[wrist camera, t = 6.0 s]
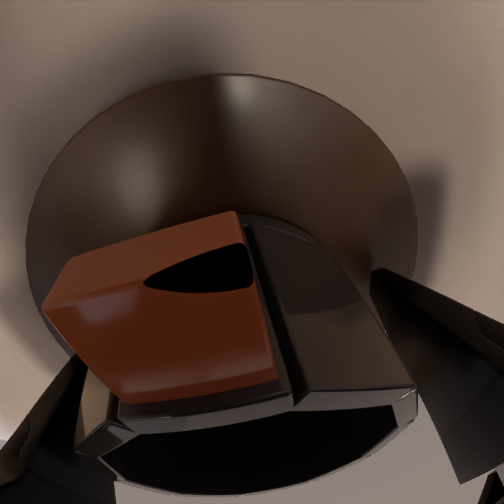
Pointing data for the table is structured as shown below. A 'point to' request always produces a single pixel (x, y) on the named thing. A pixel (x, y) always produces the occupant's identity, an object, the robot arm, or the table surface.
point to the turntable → (224, 176)
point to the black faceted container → (226, 359)
